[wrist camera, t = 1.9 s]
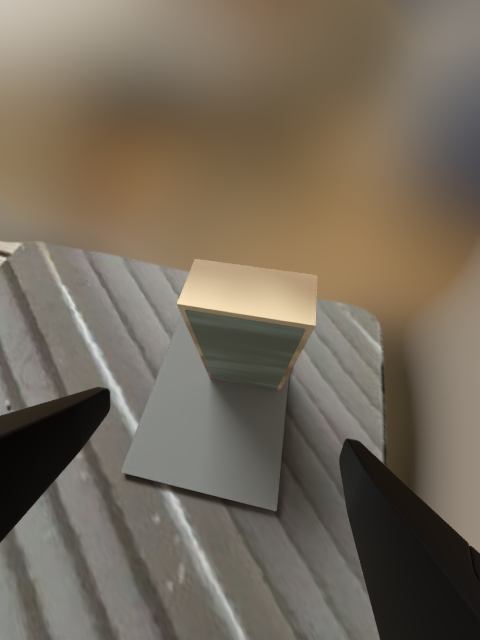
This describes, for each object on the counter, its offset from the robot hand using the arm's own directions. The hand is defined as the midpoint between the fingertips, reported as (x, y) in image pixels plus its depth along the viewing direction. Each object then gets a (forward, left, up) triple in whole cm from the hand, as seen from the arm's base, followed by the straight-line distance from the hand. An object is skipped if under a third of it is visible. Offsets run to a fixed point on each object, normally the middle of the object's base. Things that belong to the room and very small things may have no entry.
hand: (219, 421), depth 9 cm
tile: (+6, +2, -12) cm, 13 cm away
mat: (+4, +3, -12) cm, 13 cm away
